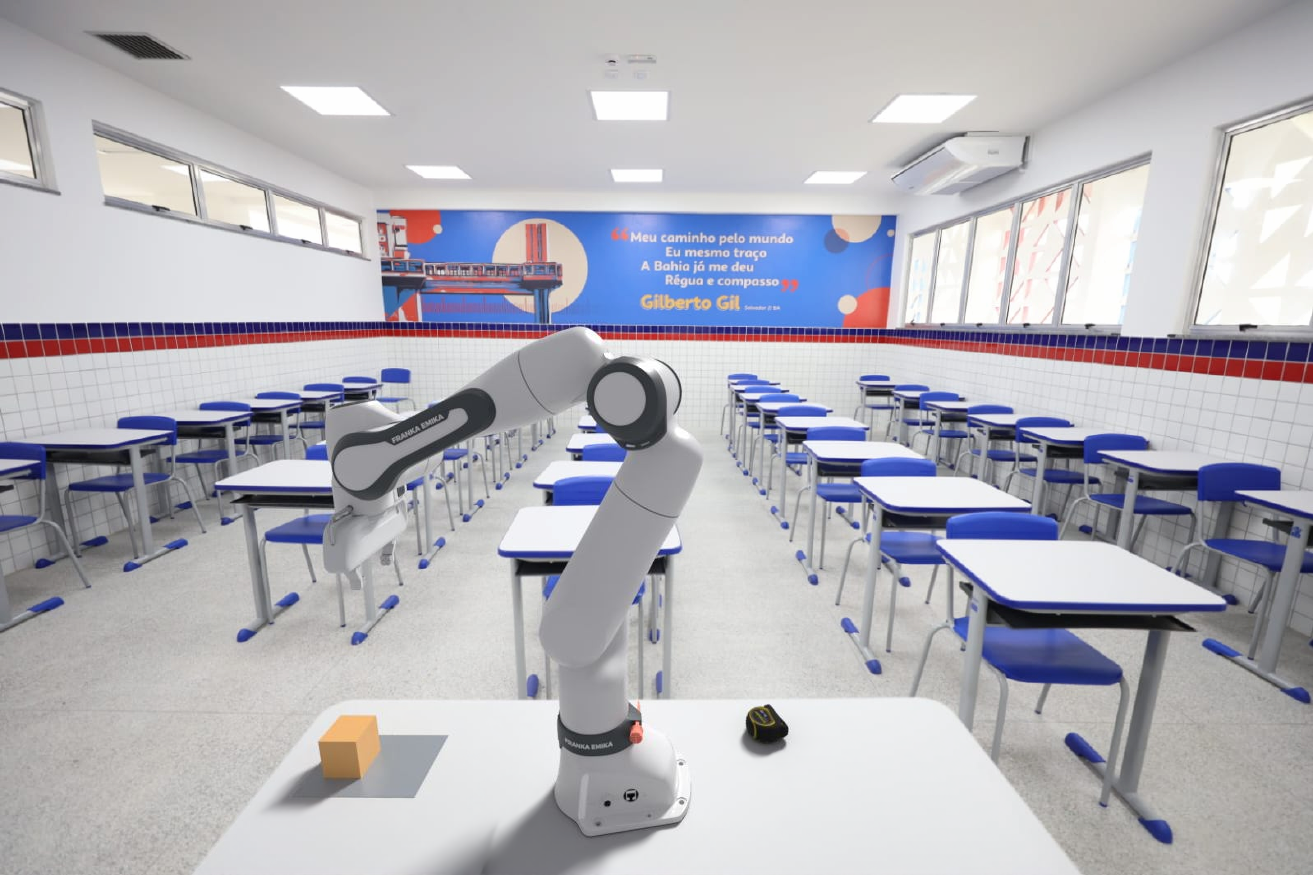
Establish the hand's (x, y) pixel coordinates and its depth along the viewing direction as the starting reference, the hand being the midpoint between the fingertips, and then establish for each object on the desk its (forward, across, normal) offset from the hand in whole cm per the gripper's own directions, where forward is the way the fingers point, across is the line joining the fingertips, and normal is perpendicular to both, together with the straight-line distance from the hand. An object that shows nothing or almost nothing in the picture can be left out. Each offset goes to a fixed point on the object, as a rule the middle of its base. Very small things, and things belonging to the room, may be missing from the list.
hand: (373, 575), depth 96 cm
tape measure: (+34, +5, -68) cm, 76 cm away
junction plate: (+34, -5, +1) cm, 34 cm away
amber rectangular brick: (+33, -5, +5) cm, 33 cm away
